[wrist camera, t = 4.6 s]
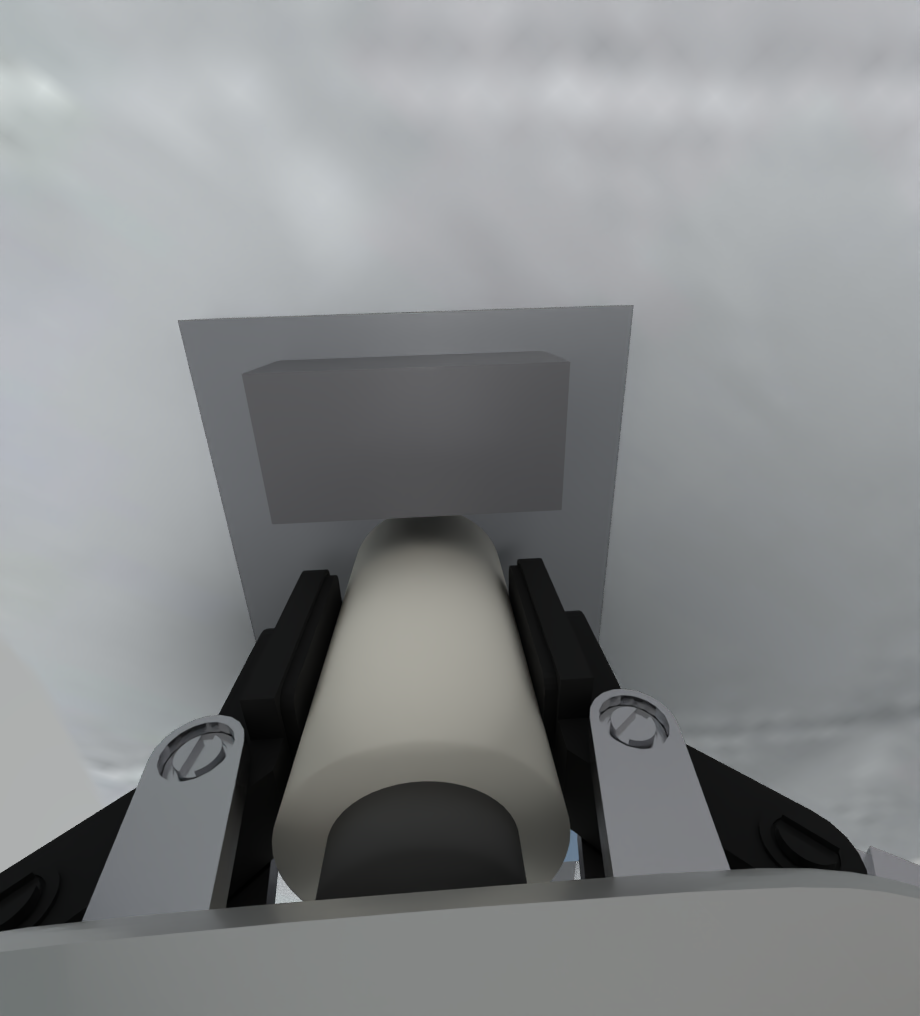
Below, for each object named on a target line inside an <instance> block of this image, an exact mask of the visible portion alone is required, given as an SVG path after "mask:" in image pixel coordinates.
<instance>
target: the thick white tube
mask: <svg viewBox="0 0 920 1016" xmlns="http://www.w3.org/2000/svg"><path fill="white" fill-rule="evenodd" d="M570 832H571V830H570V821H569V816H568V812H567V809H566V805H565V801H564V798H563V794H562V790H561V786H560V783H559V779H558V775H557V772H556V768H555V764H554V761H553V757H552V753H551V749H550V746H549V742H548V738H547V735H546V731H545V728H544V725H543V721H542V717H541V714H540V710H539V706H538V702H537V699H536V695H535V691H534V688H533V684H532V680H531V676H530V673H529V669H528V665H527V662H526V658H525V654H524V650H523V647H522V643H521V639H520V635H519V632H518V628H517V624H516V621H515V617H514V613H513V609H512V606H511V602H510V598H509V595H508V590H507V586H506V583H505V579H504V575H503V571H502V568H501V564H500V560H499V557H498V554H497V551H496V548H495V546H494V544H493V542H492V541H491V539H490V538H489V536H488V535H487V534H486V533H485V532H484V531H483V530H482V529H481V528H480V527H479V526H478V525H477V524H475V523H474V522H473V521H471V520H469V519H468V518H466V517H464V516H462V515H452V516H432V517H412V518H392V519H386V520H384V521H383V522H381V523H380V524H379V525H377V526H376V527H375V528H374V529H373V530H372V531H371V532H370V533H369V534H368V535H367V537H366V538H365V540H364V541H363V543H362V544H361V546H360V548H359V551H358V554H357V557H356V560H355V563H354V566H353V569H352V573H351V576H350V579H349V583H348V586H347V589H346V592H345V596H344V599H343V602H342V606H341V609H340V612H339V615H338V619H337V622H336V625H335V628H334V632H333V635H332V638H331V642H330V645H329V648H328V651H327V655H326V658H325V661H324V665H323V668H322V671H321V674H320V678H319V681H318V684H317V687H316V691H315V694H314V697H313V701H312V704H311V707H310V710H309V714H308V717H307V720H306V723H305V727H304V730H303V733H302V737H301V740H300V743H299V746H298V750H297V753H296V756H295V760H294V763H293V766H292V769H291V773H290V776H289V779H288V782H287V786H286V789H285V792H284V796H283V799H282V802H281V805H280V809H279V812H278V815H277V819H276V822H275V825H274V829H273V836H272V849H273V856H274V860H275V863H276V867H277V869H278V871H279V873H280V875H281V877H282V879H283V880H284V881H285V883H286V884H287V885H288V887H289V888H290V889H291V890H292V891H293V892H294V893H295V894H296V895H297V896H298V897H299V898H300V899H301V900H302V901H315V900H327V899H340V898H352V897H364V896H377V895H389V894H401V893H414V892H426V891H439V890H451V889H464V888H476V887H489V886H502V885H515V884H528V883H542V882H550V881H551V880H552V879H553V878H554V876H555V875H556V873H557V872H558V870H559V869H560V867H561V865H562V863H563V861H564V859H565V857H566V854H567V851H568V847H569V844H570Z"/></svg>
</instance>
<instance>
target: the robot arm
mask: <svg viewBox="0 0 920 1016" xmlns="http://www.w3.org/2000/svg"><path fill="white" fill-rule="evenodd" d="M508 595H509V598H510V602H511V606H512V609H513V613H514V617H515V621H516V624H517V628H518V632H519V635H520V639H521V643H522V647H523V650H524V654H525V658H526V662H527V665H528V669H529V673H530V676H531V680H532V684H533V688H534V691H535V695H536V699H537V702H538V706H539V710H540V714H541V717H542V721H543V725H544V728H545V731H546V735H547V738H548V742H549V746H550V749H551V753H552V757H553V761H554V764H555V768H556V772H557V775H558V779H559V783H560V786H561V790H562V794H563V798H564V801H565V805H566V809H567V812H568V816H569V821H570V829H571V830H572V831H574V832H575V833H576V834H577V843H578V854H579V865H580V876H581V880H569V881H555V882H542V883H528V884H515V885H502V886H489V887H476V888H464V889H451V890H439V891H426V892H414V893H401V894H389V895H377V896H364V897H352V898H340V899H327V900H315V901H303V902H291V903H280V904H275V897H276V887H277V877H278V869H277V867H276V863H275V860H274V856H273V849H272V836H273V829H274V825H275V822H276V819H277V815H278V812H279V809H280V805H281V802H282V799H283V796H284V792H285V789H286V786H287V782H288V779H289V776H290V773H291V769H292V766H293V763H294V760H295V756H296V753H297V750H298V746H299V743H300V740H301V737H302V733H303V730H304V727H305V723H306V720H307V717H308V714H309V710H310V707H311V704H312V701H313V697H314V694H315V691H316V687H317V684H318V681H319V678H320V674H321V671H322V668H323V665H324V661H325V658H326V655H327V651H328V648H329V645H330V642H331V638H332V635H333V632H334V628H335V625H336V622H337V619H338V615H339V612H340V609H341V606H342V598H341V592H340V585H339V579H338V576H337V575H330V573H329V570H328V569H324V570H305V571H302V573H301V575H300V577H299V579H298V581H297V583H296V585H295V587H294V589H293V591H292V593H291V595H290V597H289V599H288V601H287V604H286V606H285V608H284V610H283V612H282V614H281V616H280V618H279V620H278V622H277V624H276V626H275V628H268V629H265V630H263V632H262V633H261V634H260V636H259V638H258V640H257V642H256V644H255V646H254V648H253V650H252V652H251V653H250V655H249V657H248V659H247V661H246V663H245V665H244V667H243V669H242V671H241V673H240V675H239V676H238V678H237V680H236V682H235V684H234V686H233V688H232V690H231V692H230V694H229V696H228V698H227V700H226V701H225V703H224V705H223V707H222V709H221V711H220V713H219V715H214V716H206V717H203V718H199V719H196V720H193V721H191V722H189V723H187V724H185V725H183V726H181V727H179V728H177V729H176V730H175V731H173V732H172V733H171V734H169V735H168V736H166V737H165V738H164V739H163V740H162V741H161V743H160V744H159V745H158V746H157V747H156V748H155V749H154V751H153V753H152V754H151V756H150V758H149V759H148V761H147V764H146V766H145V769H144V771H143V774H142V776H141V779H140V781H139V783H138V786H137V788H135V789H134V790H132V791H130V792H129V793H127V794H126V795H124V796H122V797H121V798H119V799H118V800H116V801H114V802H113V803H111V804H110V805H108V806H106V807H105V808H103V809H102V810H100V811H99V812H97V813H95V814H94V815H92V816H91V817H89V818H87V819H86V820H84V821H83V822H81V823H80V824H78V825H76V826H75V827H73V828H71V829H70V830H68V831H67V832H65V833H64V834H62V835H60V836H59V837H57V838H56V839H54V840H52V841H51V842H49V843H48V844H46V845H44V846H43V847H41V848H40V849H38V850H36V851H35V852H33V853H32V854H30V855H29V856H27V857H25V858H24V859H22V860H21V861H19V862H18V863H16V864H14V865H13V866H11V867H9V868H8V869H6V870H5V871H3V872H1V873H0V1016H920V866H919V865H917V864H915V863H912V862H910V861H907V860H904V859H902V858H899V857H897V856H894V855H892V854H889V853H887V852H884V851H882V850H879V849H877V848H874V847H872V846H870V847H869V849H868V851H867V853H865V852H863V851H860V850H858V849H855V848H854V846H853V845H852V844H851V842H850V841H849V840H848V839H847V837H846V836H845V835H844V834H842V833H841V832H840V831H839V830H838V829H837V828H836V827H835V826H834V825H832V824H831V823H830V822H829V821H827V820H826V819H824V818H822V817H821V816H819V815H818V814H816V813H815V812H813V811H811V810H809V809H808V808H806V807H804V806H802V805H800V804H798V803H796V802H794V801H792V800H791V799H789V798H787V797H785V796H783V795H781V794H779V793H777V792H775V791H774V790H772V789H770V788H768V787H766V786H764V785H762V784H760V783H758V782H757V781H755V780H753V779H751V778H749V777H747V776H745V775H743V774H741V773H740V772H738V771H736V770H734V769H732V768H730V767H728V766H726V765H724V764H723V763H721V762H719V761H717V760H715V759H713V758H711V757H709V756H707V755H706V754H704V753H702V752H700V751H698V750H696V749H694V748H692V747H690V746H688V745H687V744H685V741H684V739H683V736H682V733H681V730H680V727H679V725H678V722H677V721H676V719H675V717H674V715H673V713H672V712H671V711H670V710H669V709H668V708H667V707H666V706H665V705H664V704H663V703H661V702H659V701H658V700H656V699H655V698H653V697H652V696H649V695H647V694H644V693H642V692H639V691H634V690H629V689H621V688H620V686H619V684H618V682H617V680H616V678H615V676H614V674H613V672H612V670H611V668H610V666H609V664H608V662H607V660H606V658H605V656H604V654H603V652H602V649H601V647H600V645H599V643H598V641H597V639H596V637H595V635H594V633H593V631H592V629H591V627H590V625H589V623H588V621H587V619H586V617H585V615H584V614H583V612H582V611H580V610H577V611H564V608H563V606H562V604H561V601H560V599H559V597H558V594H557V592H556V590H555V588H554V585H553V583H552V581H551V578H550V576H549V574H548V572H547V569H546V567H545V565H544V562H543V560H542V558H529V559H518V560H517V565H510V566H509V592H508Z"/></svg>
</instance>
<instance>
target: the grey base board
mask: <svg viewBox="0 0 920 1016" xmlns="http://www.w3.org/2000/svg"><path fill="white" fill-rule="evenodd" d="M633 306H634V305H626V306H585V307H555V308H524V309H494V310H463V311H433V312H402V313H372V314H341V315H311V316H280V317H250V318H219V319H195V320H178V324H179V328H180V332H181V336H182V340H183V344H184V348H185V352H186V356H187V361H188V365H189V369H190V373H191V377H192V381H193V385H194V389H195V393H196V397H197V402H198V406H199V410H200V414H201V418H202V422H203V426H204V430H205V434H206V438H207V443H208V447H209V451H210V455H211V459H212V463H213V467H214V471H215V475H216V479H217V484H218V488H219V492H220V496H221V500H222V504H223V508H224V512H225V516H226V520H227V525H228V529H229V533H230V537H231V541H232V545H233V549H234V553H235V557H236V561H237V566H238V570H239V574H240V578H241V582H242V586H243V590H244V594H245V598H246V602H247V607H248V611H249V615H250V619H251V623H252V627H253V631H254V635H255V639H256V642H257V640H258V638H259V636H260V634H261V633H262V632H263V630H265V629H268V628H275V626H276V624H277V622H278V620H279V618H280V616H281V614H282V612H283V610H284V608H285V606H286V604H287V601H288V599H289V597H290V595H291V593H292V591H293V589H294V587H295V585H296V583H297V581H298V579H299V577H300V575H301V573H302V571H305V570H324V569H328V570H329V573H330V575H337V576H338V579H339V585H340V592H341V598H342V602H343V599H344V596H345V592H346V589H347V586H348V583H349V579H350V576H351V573H352V569H353V566H354V563H355V560H356V557H357V554H358V551H359V548H360V546H361V544H362V543H363V541H364V540H365V538H366V537H367V535H368V534H369V533H370V532H371V531H372V530H373V529H374V528H375V527H376V526H377V525H379V524H380V523H381V522H383V521H384V520H386V519H392V518H412V517H432V516H452V515H462V516H464V517H466V518H468V519H469V520H471V521H473V522H474V523H475V524H477V525H478V526H479V527H480V528H481V529H482V530H483V531H484V532H485V533H486V534H487V535H488V536H489V538H490V539H491V541H492V542H493V544H494V546H495V548H496V551H497V554H498V557H499V560H500V564H501V568H502V571H503V575H504V579H505V583H506V586H507V590H508V592H509V566H510V565H517V560H518V559H529V558H542V560H543V562H544V565H545V567H546V569H547V572H548V574H549V576H550V578H551V581H552V583H553V585H554V588H555V590H556V592H557V594H558V597H559V599H560V601H561V604H562V606H563V608H564V611H577V610H580V611H582V612H583V614H584V615H585V617H586V619H587V621H588V623H589V625H590V627H591V629H592V631H593V633H594V635H595V637H596V639H597V641H598V643H599V633H600V623H601V614H602V604H603V594H604V585H605V575H606V566H607V556H608V546H609V537H610V527H611V518H612V508H613V498H614V489H615V479H616V469H617V460H618V450H619V441H620V431H621V421H622V412H623V402H624V392H625V383H626V373H627V364H628V354H629V344H630V335H631V325H632V316H633ZM570 830H571V829H570ZM576 861H579V854H578V843H577V834H576V833H575V832H574V831H572V830H571V832H570V844H569V847H568V851H567V854H566V857H565V859H564V861H563V863H562V865H561V867H560V869H559V870H558V872H557V873H556V875H555V876H554V878H553V879H552V880H551V881H550V882H555V881H569V880H574V873H575V864H576Z"/></svg>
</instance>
